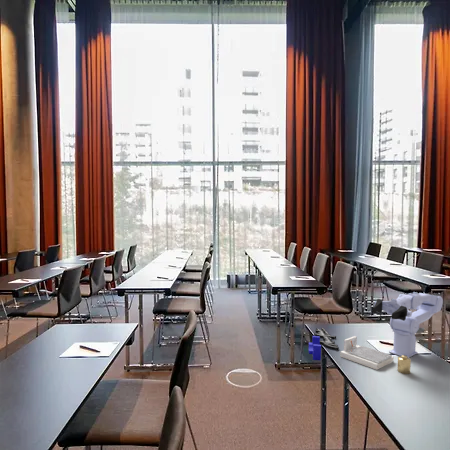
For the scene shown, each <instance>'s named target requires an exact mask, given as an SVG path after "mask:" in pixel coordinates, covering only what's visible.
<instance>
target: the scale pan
mask: <svg viewBox="0 0 450 450" xmlns="http://www.w3.org/2000/svg"><path fill="white" fill-rule="evenodd" d="M359 346H360V347H358V348H355V349H352V350H350V351H349V353H351V354H354V355H357V356H359V357H362V358H365V359H368V360H371V361H374V362H377V363H381V362H383V361H385V360H387V359H389V358H391V357H392V354H389V353H385V352H382V351H380V350H376V349H374V348H371V347H367V346H365V345H359Z"/></svg>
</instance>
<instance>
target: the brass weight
mask: <svg viewBox="0 0 450 450" xmlns="http://www.w3.org/2000/svg"><path fill="white" fill-rule="evenodd" d="M411 366H412V359H411V358H410V357H409V358H408V357H407V356H406V355H402V356H398V357H397V368H396V369H397V370H396V371H397V372H398V374H399V373H400V374H403V375H410V374H411Z"/></svg>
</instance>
